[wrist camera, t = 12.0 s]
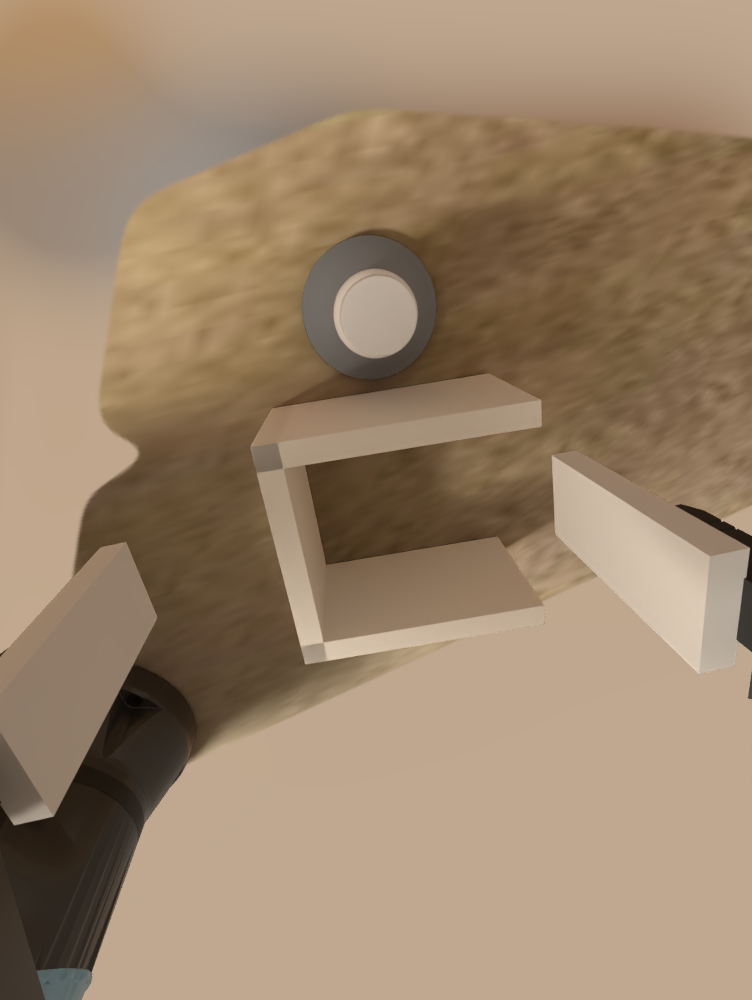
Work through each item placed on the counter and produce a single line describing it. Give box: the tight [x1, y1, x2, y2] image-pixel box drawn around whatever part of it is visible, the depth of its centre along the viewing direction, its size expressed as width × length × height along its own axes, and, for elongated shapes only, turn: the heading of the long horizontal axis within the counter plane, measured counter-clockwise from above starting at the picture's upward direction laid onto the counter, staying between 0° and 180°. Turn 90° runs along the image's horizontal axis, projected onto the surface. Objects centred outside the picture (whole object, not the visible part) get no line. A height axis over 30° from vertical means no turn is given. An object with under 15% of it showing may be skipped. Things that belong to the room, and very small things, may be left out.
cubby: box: [250, 373, 545, 665], centre depth 34 cm, size 16×15×10 cm
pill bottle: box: [333, 269, 418, 358], centre depth 29 cm, size 5×5×8 cm
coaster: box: [302, 235, 437, 379], centre depth 33 cm, size 9×9×1 cm
